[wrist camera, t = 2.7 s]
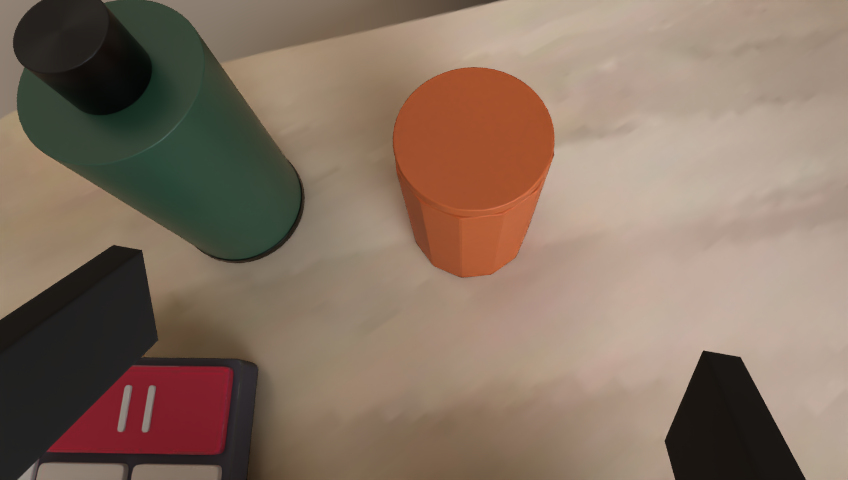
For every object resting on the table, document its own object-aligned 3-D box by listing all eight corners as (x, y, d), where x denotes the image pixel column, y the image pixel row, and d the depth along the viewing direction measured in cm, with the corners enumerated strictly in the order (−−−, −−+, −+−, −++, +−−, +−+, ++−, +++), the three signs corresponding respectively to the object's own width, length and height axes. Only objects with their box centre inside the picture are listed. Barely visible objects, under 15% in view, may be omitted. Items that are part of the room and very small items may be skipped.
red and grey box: (213, 577, 27) (-76, 571, 27) (242, 555, 31) (-10, 550, 32) (239, 357, 30) (-19, 353, 31) (262, 363, 35) (34, 360, 35)
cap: (541, 196, 36) (578, 97, 25) (499, 294, 34) (518, 236, 23) (442, 157, 38) (433, 46, 26) (396, 250, 36) (365, 174, 24)
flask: (326, 174, 38) (213, -22, 21) (266, 283, 36) (83, 165, 18) (224, 132, 39) (41, -82, 22) (161, 234, 37) (-96, 83, 20)
